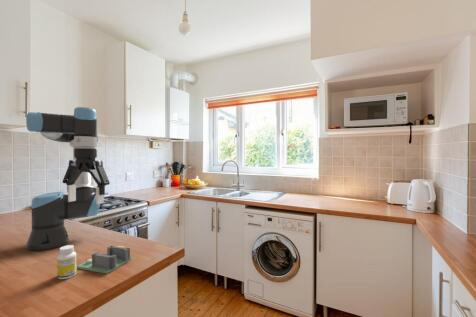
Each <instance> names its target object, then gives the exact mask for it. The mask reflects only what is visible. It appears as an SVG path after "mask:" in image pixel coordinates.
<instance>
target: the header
mask: <svg viewBox="0 0 476 317" xmlns="http://www.w3.org/2000/svg"><path fill="white" fill-rule="evenodd" d="M106 249H107V251H106V254H107V255H102V253H100V252H95V253H93V254H91V259H92V266H94V267H100V268H106V269H114V268H115V267H116V259H122V260H124V261H127V260H129V259H130V257H131V248H130V247H126V246H123V245H117V246H114V245H110V246H108V247H107V248H106Z"/></svg>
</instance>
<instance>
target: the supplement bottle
mask: <svg viewBox="0 0 476 317" xmlns="http://www.w3.org/2000/svg"><path fill="white" fill-rule="evenodd" d="M56 258H57V260H56V268H57V269H56V270H57V273H56V274H57V279H58V280H67V279H70V278H73V277H74V276H77V272H78V268H77V265H78V264H77V263H78V262H77V260H78V258H77V252H76V251H75V245H73V244H68V245H62V246H60V248H59V254H58V255H57V257H56Z"/></svg>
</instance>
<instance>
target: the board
mask: <svg viewBox="0 0 476 317" xmlns="http://www.w3.org/2000/svg"><path fill="white" fill-rule="evenodd" d="M101 254H102V255H107V252H103V253H101ZM132 259H133V257H132V256H130V259H129V260H127V261H124V260H122V259H116V267H115V268H114V269H106V268H100V267H94V266H92V258H88V259H86V260H85V261H84V262H82V263H80V264H77V270H78V269H79V270H86V271H91V272H96V273H103V274H106V275H107V274H109V273H111V272H113V271H115V270H116V269H118V268H120V267H122V266H123V265H125V264H126V263H128V262H130V261H131V260H132Z"/></svg>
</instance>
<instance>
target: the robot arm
mask: <svg viewBox="0 0 476 317" xmlns="http://www.w3.org/2000/svg"><path fill="white" fill-rule="evenodd" d="M97 113H98V112H97V110H96V109H94V108H93V107H85V106H78V107H75V108H74V110H73V114H72V115H71V114H58V113H57V114H56V113H47V112H46V113H45V112H33V111H32V112H27V113H26V121H25V122H26V130H27V131H28V132H33V133H40V134H41V136H42V137H43V138H45V139H48V140H50V141H53V142H58V143H59V142H60V143H69V146H70V147H71V148H72V153H73V154H72V155H73V156H72V159H70V160H69V161H68V166H67V169H66V172H65V175H64V176H63V179H62V184H65V185H66V186H67V187H66V190H67V192H66V193H67V194H65V193H64V191H55V192H53V191H52V192H48V193H44V194H39V195H36V196H34V197H33V198H32V199H31V206H30V209H31V231H30V234H29V236H28V239H27V242H26V245H25V246H26V250H28V251H31V252H32V251H36V252H37V251H45V250H51V249H55V248H58V247H63V246H65V245H66V244H68V243H69V234H68V231H67V229H66V227H65V220H71V219H74V220H76V219H82V218H89V217H96V216H97V215H99V212H100V206H101V204H104V202H105V199H104V197H105V196H104V195H105V194H106V186H108V185H110V184H111V182H110V180H109V178H108V175H107V172H106V170H105V168H104V162H103V160H96V159H97V156H98V154H97V152H98V149H97V146H98V141H99V137H98V130H97V129H98V128H97V127H98V126H97V124H98V116H97V115H98V114H97ZM94 182H95V184H96V186H94Z"/></svg>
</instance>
